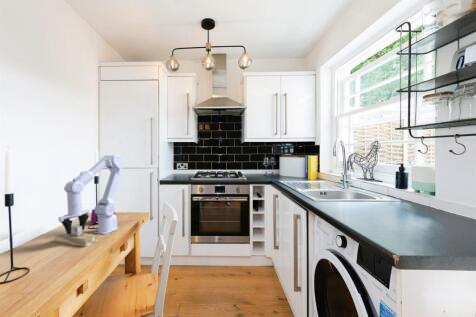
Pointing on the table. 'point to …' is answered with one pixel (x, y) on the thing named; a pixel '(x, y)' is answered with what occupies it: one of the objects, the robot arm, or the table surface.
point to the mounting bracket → (94, 217)
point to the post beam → (76, 239)
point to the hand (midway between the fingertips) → (75, 231)
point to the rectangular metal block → (76, 231)
